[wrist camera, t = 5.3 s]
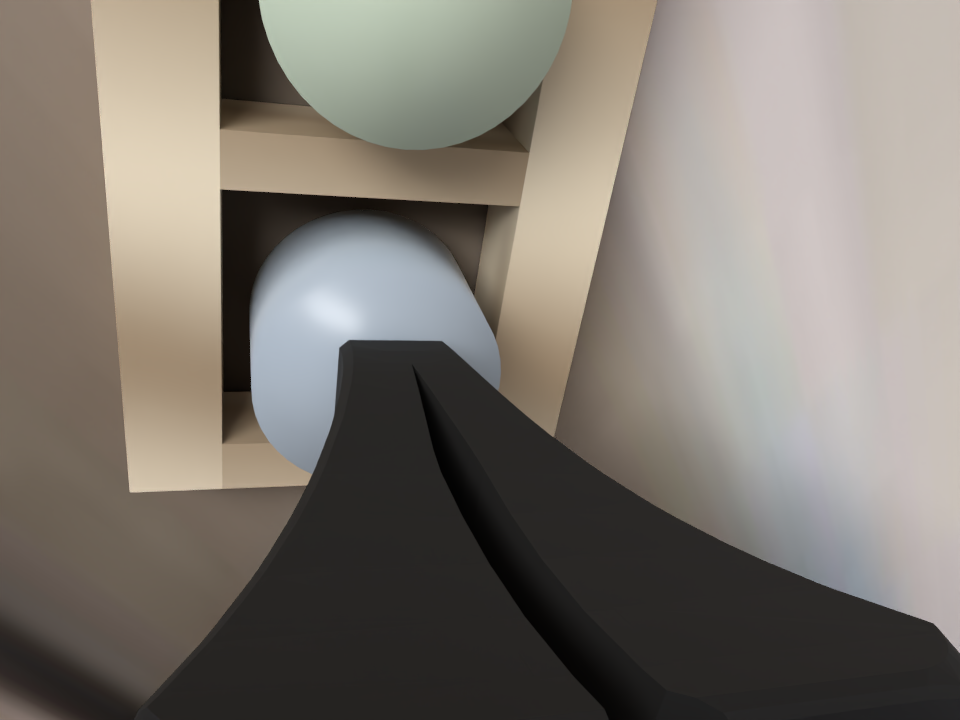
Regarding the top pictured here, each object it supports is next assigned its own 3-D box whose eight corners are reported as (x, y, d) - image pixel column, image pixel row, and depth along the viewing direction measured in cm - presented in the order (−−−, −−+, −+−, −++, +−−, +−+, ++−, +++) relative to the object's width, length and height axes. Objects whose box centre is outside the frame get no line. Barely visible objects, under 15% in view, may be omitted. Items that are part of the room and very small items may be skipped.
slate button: (450, 399, 14) (481, 479, 13) (248, 401, 14) (250, 488, 12) (480, 215, 13) (520, 278, 11) (249, 203, 12) (252, 269, 10)
